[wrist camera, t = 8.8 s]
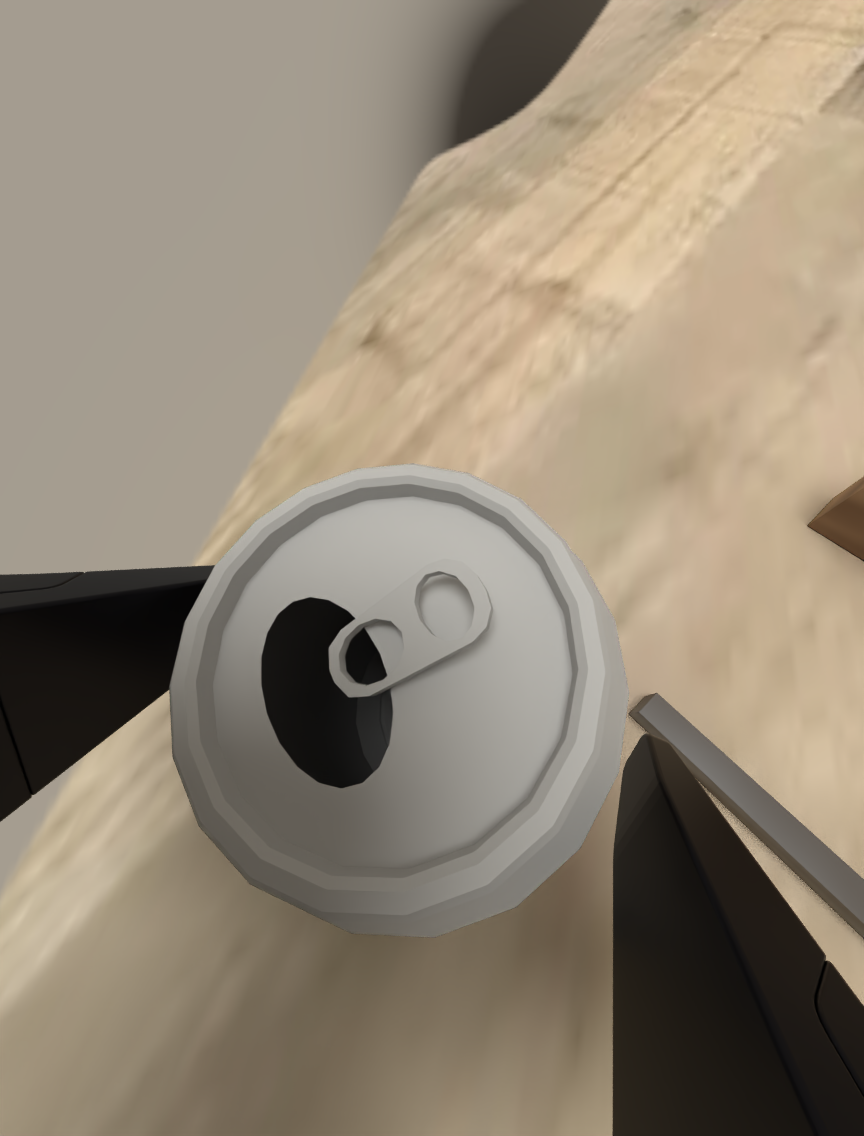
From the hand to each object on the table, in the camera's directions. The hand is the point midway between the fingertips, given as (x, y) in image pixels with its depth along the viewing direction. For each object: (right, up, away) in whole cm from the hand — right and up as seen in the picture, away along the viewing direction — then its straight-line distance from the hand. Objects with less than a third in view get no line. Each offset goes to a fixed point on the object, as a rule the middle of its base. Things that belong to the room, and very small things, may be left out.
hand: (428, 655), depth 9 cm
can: (+1, -4, +8) cm, 9 cm away
